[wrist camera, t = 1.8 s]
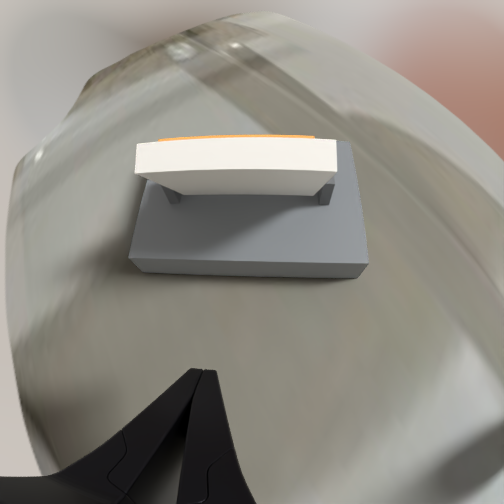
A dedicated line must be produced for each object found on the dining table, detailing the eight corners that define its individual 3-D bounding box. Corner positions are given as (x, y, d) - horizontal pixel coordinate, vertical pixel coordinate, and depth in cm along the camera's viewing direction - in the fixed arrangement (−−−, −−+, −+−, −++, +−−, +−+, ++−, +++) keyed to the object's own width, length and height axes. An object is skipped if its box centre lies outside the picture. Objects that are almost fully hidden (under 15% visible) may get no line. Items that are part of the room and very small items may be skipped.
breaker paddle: (313, 195, 23) (337, 171, 14) (184, 194, 23) (134, 173, 14) (313, 171, 22) (335, 134, 14) (185, 171, 23) (137, 138, 14)
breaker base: (357, 278, 24) (381, 247, 18) (143, 272, 25) (112, 241, 20) (343, 163, 29) (355, 120, 23) (167, 163, 30) (150, 121, 24)
